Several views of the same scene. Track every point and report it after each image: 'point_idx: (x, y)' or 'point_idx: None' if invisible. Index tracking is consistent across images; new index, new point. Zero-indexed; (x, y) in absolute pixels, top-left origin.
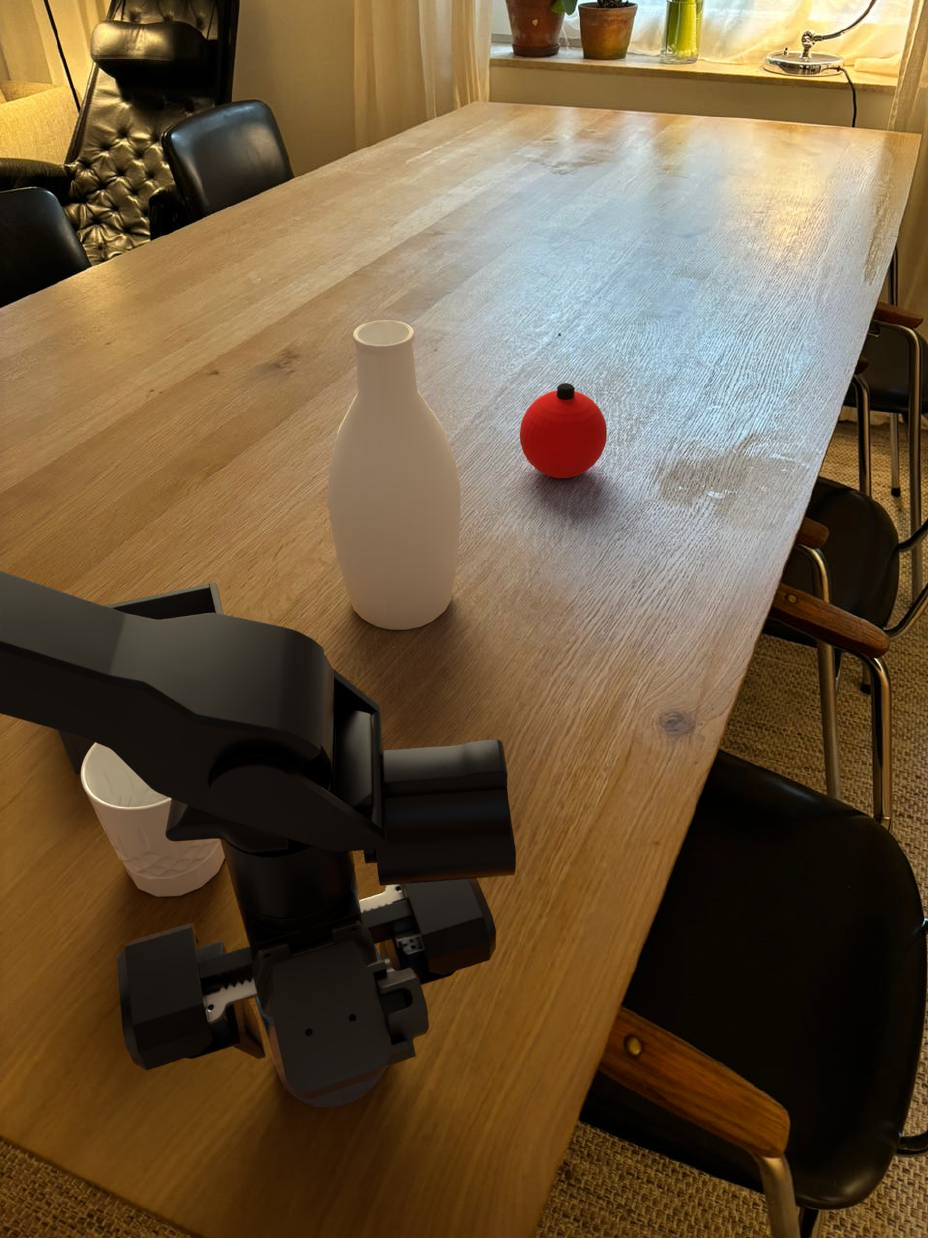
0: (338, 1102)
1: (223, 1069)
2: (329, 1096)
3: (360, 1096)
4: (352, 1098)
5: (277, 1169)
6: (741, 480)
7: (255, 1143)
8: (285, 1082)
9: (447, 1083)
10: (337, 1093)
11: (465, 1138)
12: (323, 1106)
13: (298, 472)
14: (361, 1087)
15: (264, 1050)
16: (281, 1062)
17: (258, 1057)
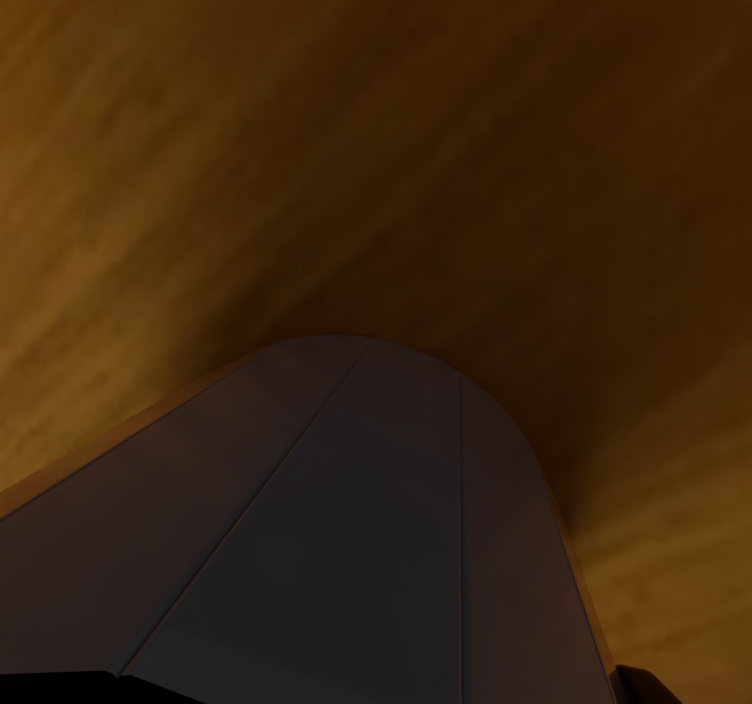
0: (391, 348)
1: (725, 657)
2: (414, 376)
3: (313, 338)
4: (338, 340)
5: (700, 234)
6: None
7: (735, 365)
8: (559, 516)
9: (29, 242)
10: (377, 366)
11: (23, 27)
12: (449, 368)
13: None
14: (282, 350)
15: None
16: (605, 651)
17: (661, 691)
